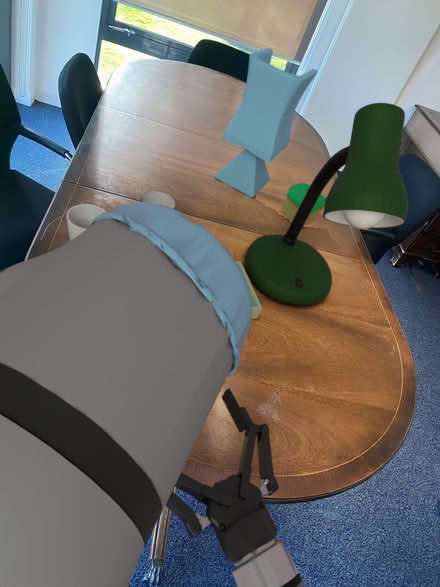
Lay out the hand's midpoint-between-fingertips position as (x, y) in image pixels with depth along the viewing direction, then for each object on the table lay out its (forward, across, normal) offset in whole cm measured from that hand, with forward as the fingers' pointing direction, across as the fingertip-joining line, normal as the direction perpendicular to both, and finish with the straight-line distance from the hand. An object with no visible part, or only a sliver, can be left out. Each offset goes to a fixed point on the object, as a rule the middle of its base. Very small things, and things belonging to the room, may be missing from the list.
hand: (188, 405), depth 61 cm
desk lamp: (+23, +40, -7) cm, 46 cm away
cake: (+48, +60, -7) cm, 77 cm away
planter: (+68, +52, -7) cm, 85 cm away
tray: (+24, +20, -6) cm, 32 cm away
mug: (+46, +11, -7) cm, 48 cm away
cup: (+41, -5, -7) cm, 42 cm away
